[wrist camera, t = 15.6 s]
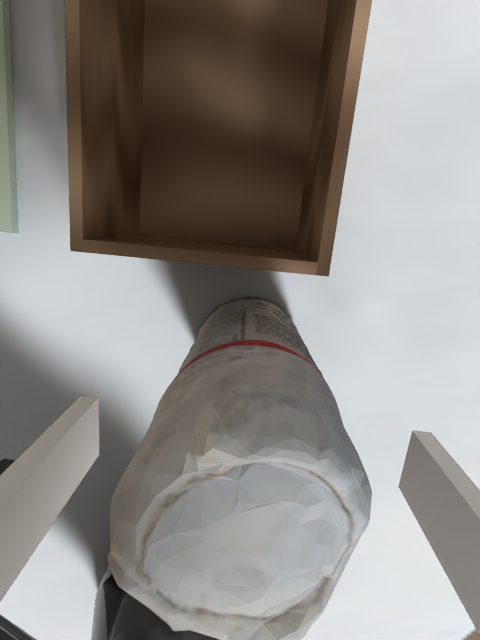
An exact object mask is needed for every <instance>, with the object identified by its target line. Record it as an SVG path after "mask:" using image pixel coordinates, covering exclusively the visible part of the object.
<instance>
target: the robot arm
mask: <svg viewBox="0 0 480 640" xmlns="http://www.w3.org/2000/svg"><path fill="white" fill-rule="evenodd" d="M98 456H99V397H89V396H80V397H79V398H78V399H77V400H76V401H75V402H74V403H73V404H72V405H71V406H70V407H69V408H68V409H67V410H66V411H65V412H64V413H63V414H62V415H61V416H60V417H59V418H58V419H57V420H56V421H55V422H54V423H53V424H52V425H51V426H50V427H49V428H48V429H47V430H46V431H45V432H44V433H43V434H42V435H41V436H40V437H39V438H38V439H37V440H36V441H35V442H34V443H33V444H32V445H31V446H30V447H29V448H28V449H26V450H25V451H24V452H23V453H22V454H21V455H20V456H19V457H18V458H17V459H16V460H9V459H3V460H1V461H0V602H1V600H2V599H3V597H4V596H5V594H6V593H7V591H8V590H9V588H10V587H11V585H12V584H13V582H14V581H15V579H16V578H17V576H18V575H19V573H20V572H21V570H22V569H23V567H24V566H25V564H26V563H27V561H28V560H29V558H30V557H31V555H32V554H33V552H34V551H35V549H36V548H37V546H38V545H39V543H40V542H41V540H42V539H43V537H44V536H45V535H46V533H47V532H48V530H49V529H50V527H51V526H52V524H53V523H54V521H55V520H56V518H57V517H58V515H59V514H60V512H61V511H62V509H63V508H64V506H65V505H66V503H67V502H68V500H69V499H70V497H71V496H72V494H73V493H74V491H75V490H76V488H77V487H78V485H79V484H80V482H81V481H82V479H83V478H84V476H85V475H86V473H87V472H88V470H89V469H90V467H91V466H92V464H93V463H94V462H95V460H96V459H97V457H98ZM399 488H400V490H401V492H402V494H403V495H404V497H405V499H406V501H407V503H408V505H409V507H410V508H411V510H412V512H413V514H414V516H415V518H416V519H417V521H418V523H419V525H420V527H421V529H422V530H423V532H424V534H425V536H426V538H427V540H428V541H429V543H430V545H431V547H432V549H433V551H434V552H435V554H436V556H437V558H438V560H439V562H440V563H441V565H442V567H443V569H444V571H445V573H446V574H447V576H448V578H449V580H450V582H451V584H452V585H453V587H454V589H455V591H456V593H457V595H458V596H459V598H460V600H461V602H462V604H463V606H464V607H465V609H466V611H467V613H468V615H469V617H470V618H471V620H472V622H473V624H474V626H475V628H476V629H477V631H478V633H479V635H480V490H479V489H478V488H477V487H476V485H475V484H474V483H473V482H472V481H471V479H470V478H469V477H468V476H467V475H466V474H465V472H464V471H463V470H462V469H461V468H460V466H459V465H458V464H457V463H456V462H455V460H454V459H453V458H452V457H451V456H450V454H449V453H448V452H447V451H446V450H445V449H444V447H443V446H442V445H441V444H440V443H439V441H438V440H437V439H436V438H435V437H434V435H433V434H432V433H431V432H421V431H412V435H411V439H410V443H409V447H408V451H407V455H406V459H405V463H404V467H403V471H402V475H401V479H400V483H399ZM0 640H36V639H35V638H33V637H32V636H30V635H29V634H28V633H26V632H25V631H23V630H22V629H20V628H19V627H17V626H16V625H15V624H13V623H12V622H10V621H9V620H7V619H6V618H4V617H3V616H2V615H0ZM91 640H220V639H216V638H213V637H210V636H207V635H204V634H201V633H197V632H194V631H191V630H186V631H173V630H172V629H171V627H170V626H169V625H168V624H167V623H166V622H165V621H163V620H162V619H161V618H160V617H159V616H158V615H156V614H155V613H154V612H153V611H152V610H150V609H149V608H148V607H147V606H145V605H144V604H142V603H141V602H139V601H138V600H137V599H135V598H134V597H132V596H131V595H130V594H128V593H127V592H126V591H124V590H123V589H122V588H120V587H119V586H118V585H117V583H116V581H115V579H114V577H113V575H112V573H111V571H110V569H109V566H107V568H106V571H105V573H104V575H103V578H102V580H101V582H100V585H99V588H98V591H97V595H96V600H95V608H94V618H93V628H92V638H91Z"/></svg>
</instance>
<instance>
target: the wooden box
mask: <svg viewBox="0 0 480 640" xmlns="http://www.w3.org/2000/svg"><path fill="white" fill-rule="evenodd" d="M371 4H372V0H65V39H66V81H67V123H68V165H69V207H70V248H71V251H77V252H88V253H98V254H108V255H118V256H128V257H138V258H148V259H158V260H168V261H178V262H188V263H199V264H209V265H219V266H229V267H239V268H249V269H259V270H269V271H279V272H289V273H300V274H310V275H320V276H329V270H330V263H331V257H332V251H333V244H334V238H335V232H336V225H337V219H338V213H339V206H340V200H341V194H342V187H343V181H344V175H345V168H346V162H347V156H348V149H349V143H350V137H351V130H352V124H353V118H354V111H355V105H356V99H357V92H358V86H359V80H360V73H361V67H362V61H363V54H364V48H365V42H366V35H367V29H368V23H369V16H370V10H371Z"/></svg>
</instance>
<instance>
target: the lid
mask: <svg viewBox="0 0 480 640" xmlns="http://www.w3.org/2000/svg"><path fill="white" fill-rule="evenodd" d="M0 232H9V233H18V210H17V184H16V158H15V132H14V106H13V80H12V54H11V28H10V2H9V0H0Z"/></svg>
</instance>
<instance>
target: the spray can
mask: <svg viewBox="0 0 480 640" xmlns="http://www.w3.org/2000/svg"><path fill="white" fill-rule="evenodd" d="M371 496H372V491H371V487H370V484H369V480H368V477H367V474H366V472H365V470H364V467H363V465H362V463H361V460H360V458H359V455H358V453H357V451H356V449H355V447H354V445H353V443H352V442H351V440H350V438H349V436H348V434H347V432H346V430H345V428H344V426H343V423H342V419H341V416H340V412H339V409H338V406H337V403H336V400H335V398H334V396H333V393H332V392H331V390H330V388H329V386H328V384H327V383H326V381H325V380H324V378H323V376H322V373H321V371H320V370H319V369H318V367H317V366H316V364H315V362H314V361H313V359H312V357H311V355H310V354H309V351H308V349H307V347H306V345H305V344H304V342H303V340H302V338H301V336H300V335H299V333H298V331H297V328H296V326H295V325H294V324H293V322H292V321H291V320H290V318H289V317H288V316H287V315H286V314H285V312H284V311H283V310H282V309H281V307H280V306H277V304H274V303H272V302H270V301H266V300H264V299H261V298H257V297H256V298H251V297H248V298H247V297H246V298H240V299H235V300H233V301H230V302H228V303H225V304H224V305H221V306H219V307H218V308H216V309H215V310H214V312H213V313H211V315H210V316H209V317H208V318H207V319H206V321H205V322H204V324H203V325H202V326H201V327H200V328H199V330H198V337H197V339H196V340H195V343H194V344H193V345H192V347H191V349H190V352H189V353H188V355H187V357H186V359H185V360H184V362H183V364H182V366H181V368H180V370H179V373H178V375H177V376H176V378H175V379H174V380H173V381H172V383H171V384H170V385H169V387H168V388H167V390H166V391H165V393H164V394H163V396H162V398H161V400H160V402H159V404H158V407H157V409H156V412H155V415H154V418H153V420H152V423H151V425H150V427H149V429H148V431H147V433H146V435H145V436H144V438H143V440H142V442H141V443H140V445H139V447H138V449H137V451H136V452H135V454H134V456H133V457H132V459H131V461H130V463H129V464H128V466H127V468H126V470H125V471H124V473H123V475H122V477H121V478H120V480H119V482H118V484H117V486H116V489H115V491H114V493H113V495H112V499H111V504H110V551H109V553H108V555H107V564H108V566H109V569H110V571H111V573H112V575H113V577H114V579H115V581H116V583H117V585H118V586H119V587H120V588H122V589H123V590H124V591H126V592H127V593H128V594H130V595H131V596H132V597H134V598H135V599H137V600H138V601H139V602H141V603H142V604H144V605H145V606H147V607H148V608H149V609H150V610H152V611H153V612H154V613H155V614H156V615H158V616H159V617H160V618H161V619H162V620H163V621H165V622H166V623H167V624H168V625H169V626H170V627H171V629H172V630H173V631H186V630H191V631H194V632H197V633H201V634H204V635H207V636H210V637H213V638H216V639H220V640H301V639H302V638H303V637H304V636H305V634H306V633H307V631H308V630H309V628H310V627H311V625H312V624H313V623H314V622H315V621H316V620H317V618H318V617H319V616H320V615H321V614H322V613H323V611H324V609H325V607H326V605H327V603H328V601H329V599H330V597H331V595H332V593H333V590H334V588H335V586H336V584H337V582H338V580H339V578H340V576H341V574H342V572H343V570H344V568H345V566H346V564H347V562H348V560H349V558H350V556H351V554H352V552H353V550H354V548H355V546H356V544H357V543H358V541H359V539H360V537H361V535H362V534H363V532H364V531H365V529H366V528H367V526H368V523H369V520H370V508H371Z"/></svg>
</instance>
